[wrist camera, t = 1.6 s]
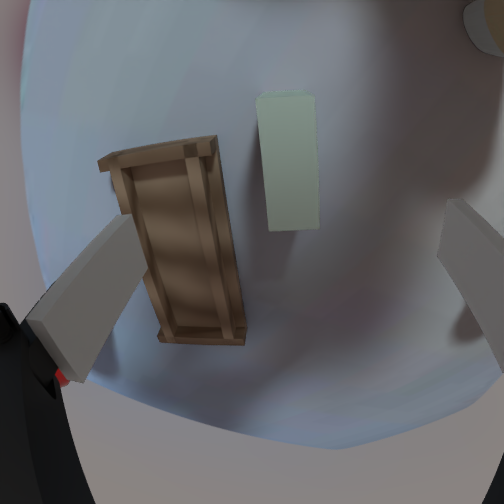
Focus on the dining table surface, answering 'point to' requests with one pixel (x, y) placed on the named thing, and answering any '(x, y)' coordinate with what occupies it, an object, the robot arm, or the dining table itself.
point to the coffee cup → (486, 25)
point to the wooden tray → (183, 237)
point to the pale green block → (289, 159)
